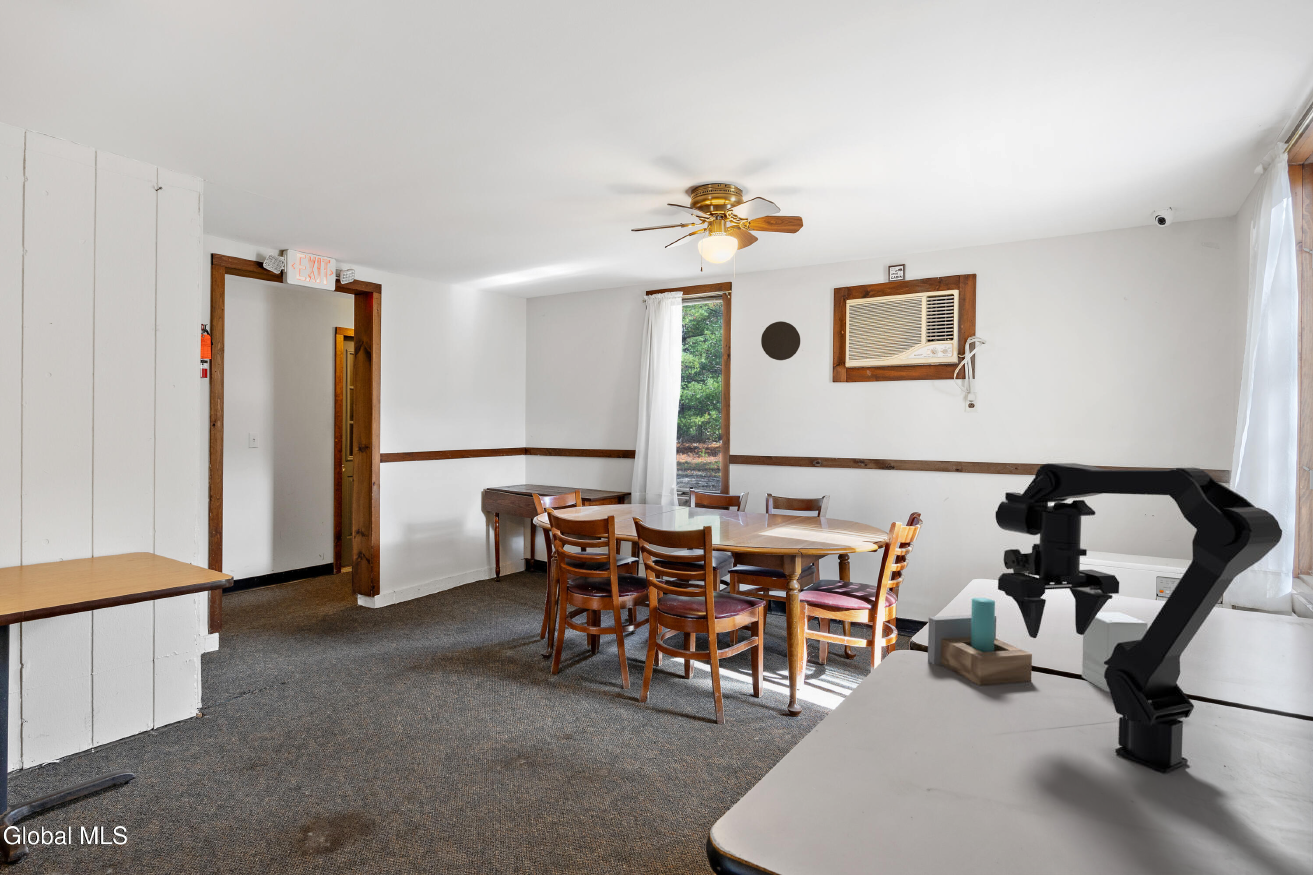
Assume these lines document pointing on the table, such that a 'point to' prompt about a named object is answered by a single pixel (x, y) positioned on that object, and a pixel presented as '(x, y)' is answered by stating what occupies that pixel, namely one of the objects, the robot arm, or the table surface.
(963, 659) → the hole block
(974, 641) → the dowel
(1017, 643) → the table surface
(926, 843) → the table surface
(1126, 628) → the supplement box
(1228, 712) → the table surface
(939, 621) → the backstop wall
